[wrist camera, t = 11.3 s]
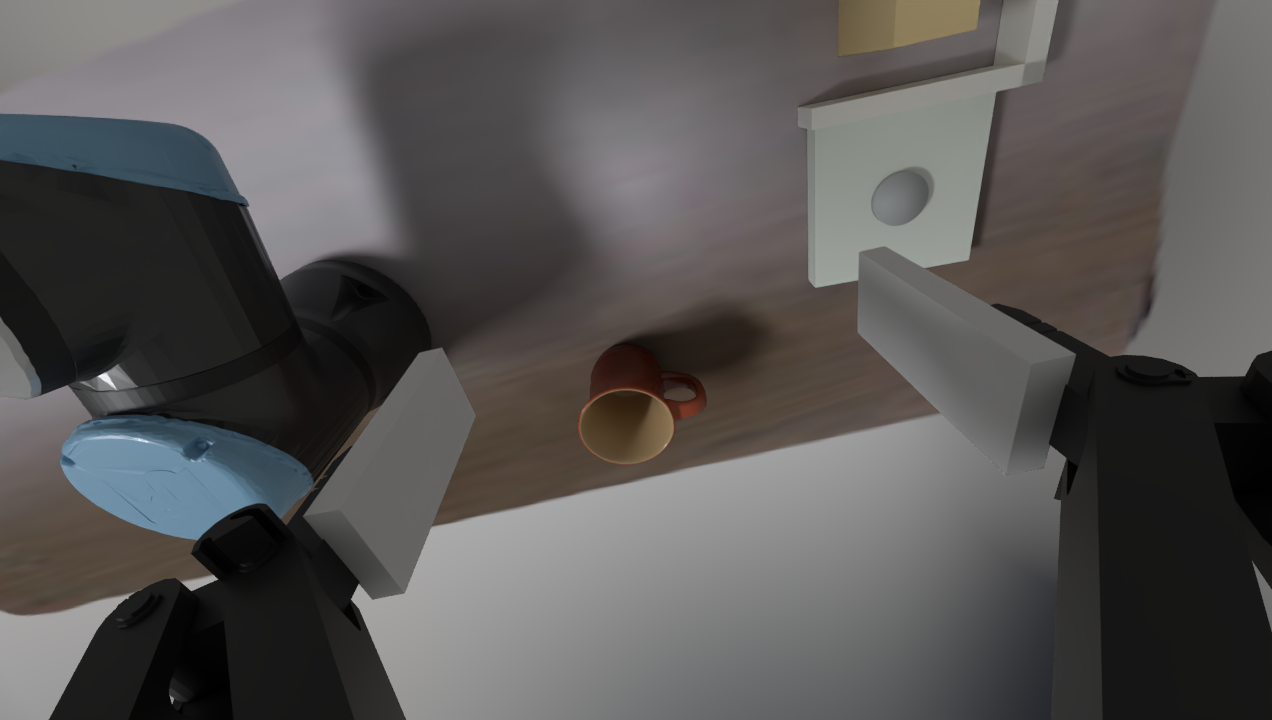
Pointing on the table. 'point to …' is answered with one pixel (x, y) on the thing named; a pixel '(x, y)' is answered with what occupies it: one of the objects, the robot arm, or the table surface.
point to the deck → (912, 156)
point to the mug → (633, 406)
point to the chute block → (901, 22)
